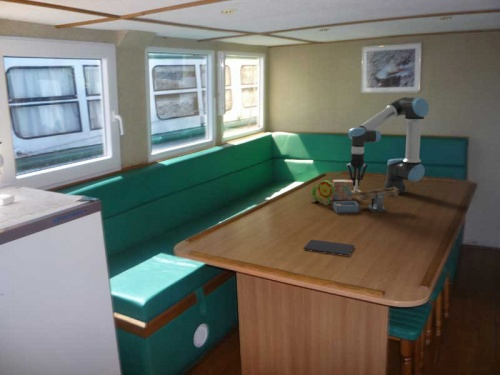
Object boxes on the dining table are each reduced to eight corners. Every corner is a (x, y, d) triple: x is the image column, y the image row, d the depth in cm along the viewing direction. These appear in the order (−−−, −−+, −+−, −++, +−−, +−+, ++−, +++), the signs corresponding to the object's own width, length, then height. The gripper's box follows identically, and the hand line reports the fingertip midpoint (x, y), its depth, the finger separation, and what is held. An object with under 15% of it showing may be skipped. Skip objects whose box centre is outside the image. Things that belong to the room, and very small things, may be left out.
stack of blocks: (319, 199, 300) (319, 181, 297) (318, 197, 306) (319, 179, 303) (352, 199, 298) (353, 181, 295) (351, 197, 304) (351, 179, 301)
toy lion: (309, 202, 294) (310, 179, 290) (314, 200, 298) (315, 177, 294) (330, 206, 283) (331, 182, 280) (335, 204, 287) (336, 181, 284)
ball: (341, 208, 275) (340, 202, 274) (342, 209, 272) (342, 204, 271) (335, 209, 275) (335, 203, 274) (337, 210, 272) (336, 205, 271)
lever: (389, 190, 287) (388, 183, 286) (399, 197, 270) (398, 189, 269) (351, 196, 286) (351, 189, 285) (359, 203, 270) (359, 195, 268)
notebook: (303, 251, 212) (348, 257, 203) (303, 247, 212) (348, 254, 203) (311, 242, 223) (354, 248, 215) (311, 239, 223) (354, 245, 214)
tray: (354, 207, 279) (354, 200, 278) (359, 212, 269) (359, 205, 268) (332, 208, 278) (332, 201, 277) (336, 213, 268) (337, 205, 267)
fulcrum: (379, 206, 280) (380, 189, 278) (386, 211, 270) (387, 193, 267) (367, 207, 280) (367, 189, 277) (373, 212, 269) (373, 194, 267)
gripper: (366, 152, 281) (364, 189, 287) (345, 152, 281) (343, 189, 286) (370, 154, 274) (367, 192, 279) (348, 154, 273) (347, 192, 279)
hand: (355, 190), depth 283 cm, fingers closed
